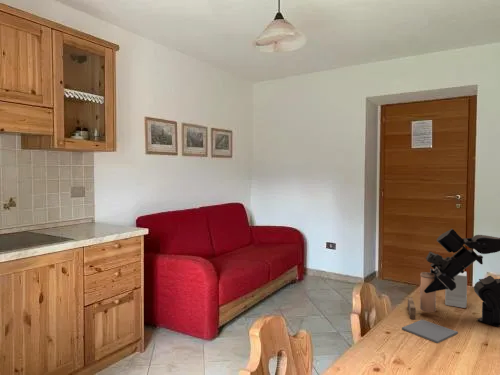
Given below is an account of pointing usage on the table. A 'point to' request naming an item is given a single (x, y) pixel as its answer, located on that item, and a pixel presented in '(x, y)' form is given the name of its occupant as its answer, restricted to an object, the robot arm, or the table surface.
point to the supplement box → (457, 292)
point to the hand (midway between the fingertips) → (423, 289)
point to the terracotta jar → (427, 298)
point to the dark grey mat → (429, 331)
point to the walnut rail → (411, 308)
